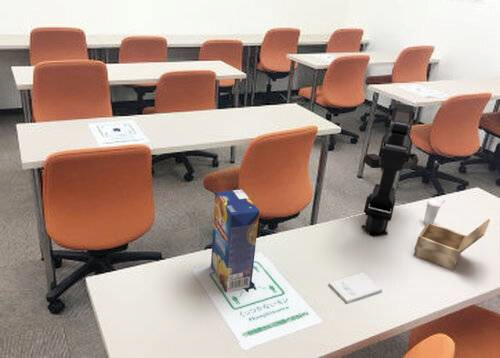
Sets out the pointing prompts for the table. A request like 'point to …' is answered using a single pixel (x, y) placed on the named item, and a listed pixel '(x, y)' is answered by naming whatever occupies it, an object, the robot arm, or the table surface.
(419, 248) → the carton
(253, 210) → the juice carton
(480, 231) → the flap
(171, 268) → the table surface
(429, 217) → the milkshake
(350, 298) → the external hard drive
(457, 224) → the table surface
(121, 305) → the table surface
